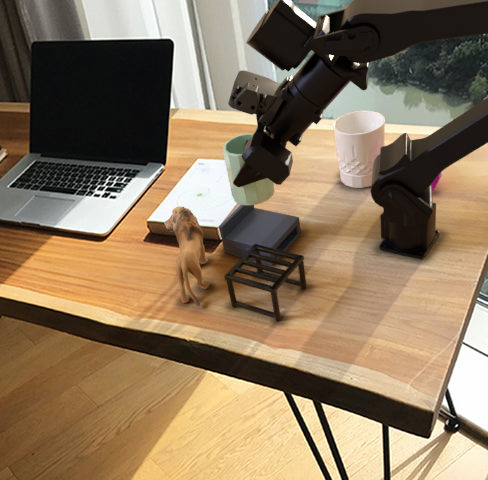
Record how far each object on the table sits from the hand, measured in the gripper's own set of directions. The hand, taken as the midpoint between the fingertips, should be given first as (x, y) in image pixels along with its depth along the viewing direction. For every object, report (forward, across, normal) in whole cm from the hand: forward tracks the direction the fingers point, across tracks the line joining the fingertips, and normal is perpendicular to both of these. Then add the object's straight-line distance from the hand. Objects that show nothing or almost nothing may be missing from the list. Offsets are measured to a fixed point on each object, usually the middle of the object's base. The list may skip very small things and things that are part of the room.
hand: (240, 172), depth 96 cm
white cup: (-1, -18, +20) cm, 27 cm away
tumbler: (+2, 0, +4) cm, 4 cm away
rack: (+6, +12, +12) cm, 18 cm away
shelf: (+8, -1, +10) cm, 13 cm away
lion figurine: (+15, +7, +4) cm, 17 cm away
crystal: (-8, -14, +27) cm, 31 cm away
